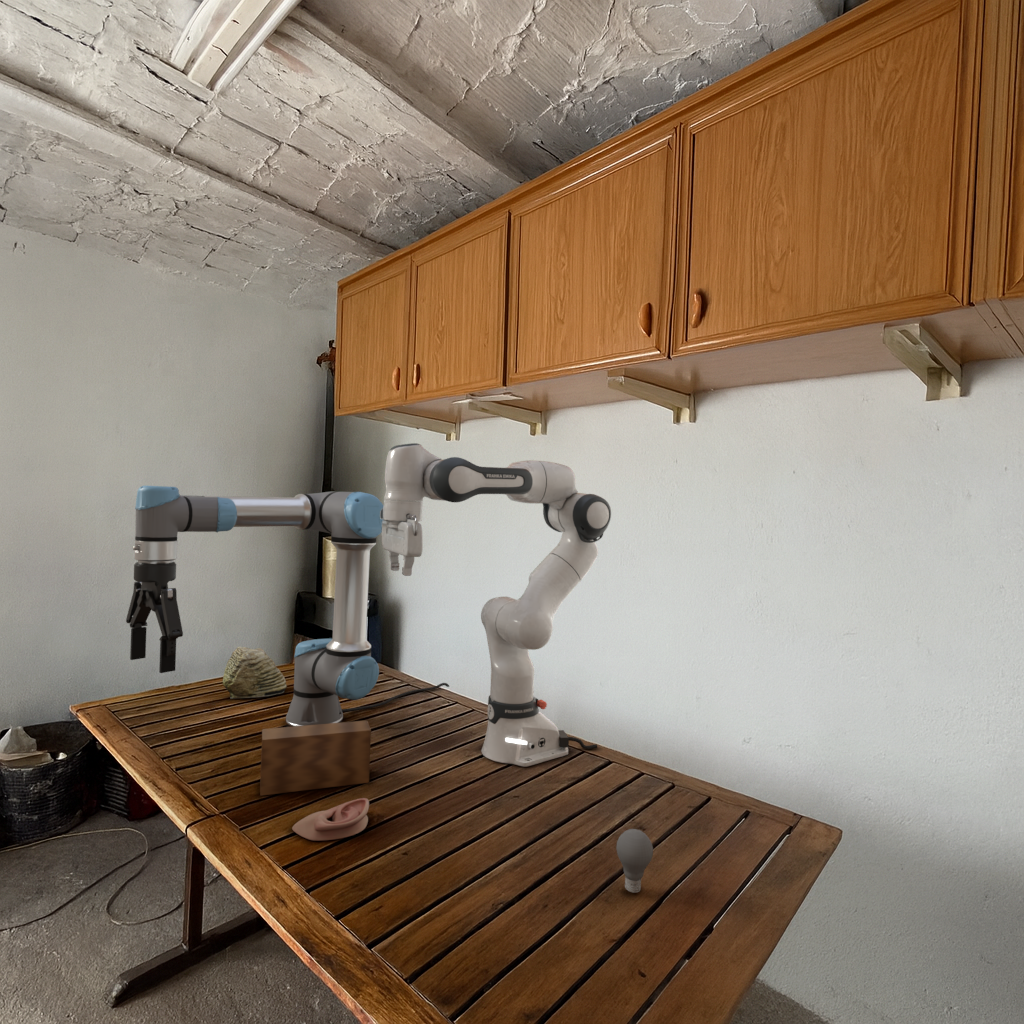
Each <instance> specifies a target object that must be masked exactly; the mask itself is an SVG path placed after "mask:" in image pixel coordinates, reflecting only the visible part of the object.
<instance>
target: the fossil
mask: <svg viewBox="0 0 1024 1024" xmlns="http://www.w3.org/2000/svg"><path fill="white" fill-rule="evenodd" d="M222 676H223V677H222V685H223V687H224V688H225V690H226V691H228V693H229V698H230V699H250V698H264V697H271V696H275V695H281V694H284V693H285V691H286V689H287V687H288V686H287V680H286V678H285V676H284V674H283V673H282V672H281V669H279V668H278V667H277V665H276V663H275V662H274V660H273V659H272V658H271V657H270V656H269V655H268V654H267V653H266V652H265V650H264V649H263V648H260V647H258V648H251V647H247V646H246V647H245V646H238V647H237V648H236V649H235V650H233V651H232V653H231V656H230V657H229V659H228V660H227V663H226V666H225V668H224V671H223V675H222Z"/></svg>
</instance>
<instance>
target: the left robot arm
mask: <svg viewBox="0 0 1024 1024" xmlns="http://www.w3.org/2000/svg"><path fill="white" fill-rule="evenodd" d="M136 492H137V493H136V498H135V506H134V510H135V536H134V539H135V540H134V545H133V546H132V551H134V560H135V561H136V562H135V563H134V564H133V580H134V582H133V590H132V591H133V592H132V596H131V600H130V603H129V606H128V611H127V615H126V618H125V623H126V624H129V627H130V647H129V648H130V649H129V661H135V660H141V659H146V655H147V654H146V653H147V627H148V622H147V620H148V619H149V616H150V614H151V612H154V613H155V617H156V620H157V623H158V626H159V631H160V633H161V636H160V637H159V641H160V642H159V668H158V672H159V673H160V674H165V673H171V672H175V671H176V664H177V663H176V662H177V661H176V659H177V639H179V638H183V635H184V631H183V625H182V620H181V615H180V611H179V606H178V599H177V588H176V587H169V585H168V583H169V582H173V581H175V580H176V578H177V563H176V561H175V560H177V559H178V533H186V532H187V533H188V532H189V533H207V532H208V533H221V532H230V531H231V530H232V529H233V528H251V527H253V528H256V527H257V528H259V527H261V528H262V527H263V528H264V527H294V528H295V529H296V530H300V531H301V530H307V531H309V530H310V531H317V532H322V533H327V534H330V535H331V537H330V543H331V544H332V546H334V547H335V549H336V557H335V558H336V559H335V581H334V597H333V598H334V600H333V601H334V602H333V618H332V619H333V622H332V638H317V639H308V640H304V641H300V642H299V643H297V645H296V646H295V650H294V655H293V657H294V672H293V673H294V674H293V695H292V696H293V697H292V699H291V702H290V704H289V706H288V707H289V708H288V711H287V713H286V715H285V727H294V726H306V725H318V724H330V723H341V722H344V714H343V713H347V712H357V711H363V710H369V709H373V708H374V709H375V708H378V707H381V706H385V705H387V704H390V702H393V701H394V700H396V699H398V698H401V697H404V696H407V695H410V694H414V693H420V692H426V691H433V690H437V689H439V688H441V687H443V686H445V687H446V688H449V687H450V685H449V684H448V683H447V682H442V683H439V684H437V685H435V686H432V687H431V686H430V687H424V688H417V689H413V690H408V691H405V692H401V693H398V694H397V695H394V696H392V697H390V698H388V699H387V700H385V701H382V702H379V703H375V704H371V705H365V706H359V707H351V708H350V707H349V708H342V706H341V702H340V699H339V698H341V699H347V700H351V701H357V700H360V699H363V698H364V697H366V696H367V695H368V694H370V692H371V690H373V689H374V688H375V686H376V684H377V682H378V679H379V676H380V667H379V664H378V662H377V661H376V659H375V658H374V657H372V644H371V643H370V642H369V641H368V640H367V624H368V623H367V619H368V604H369V603H368V600H369V580H370V579H369V578H370V560H371V559H370V558H371V557H370V556H371V550H372V548H374V547H375V546H376V545H377V537H378V536H379V535H382V521H383V519H380V511H381V509H382V508H383V506H384V503H382V501H381V500H380V499H379V498H378V497H377V496H376V495H374V494H371V493H367V492H363V491H337V490H336V491H335V490H333V491H325V492H314V493H298V494H296V495H294V497H290V496H289V497H287V496H286V497H285V496H284V497H283V496H234V495H233V496H232V495H231V496H230V495H187V494H186V495H183V494H180V490H179V488H178V487H176V486H165V485H163V486H162V485H142V486H140V487H138V488H137V491H136Z"/></svg>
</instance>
